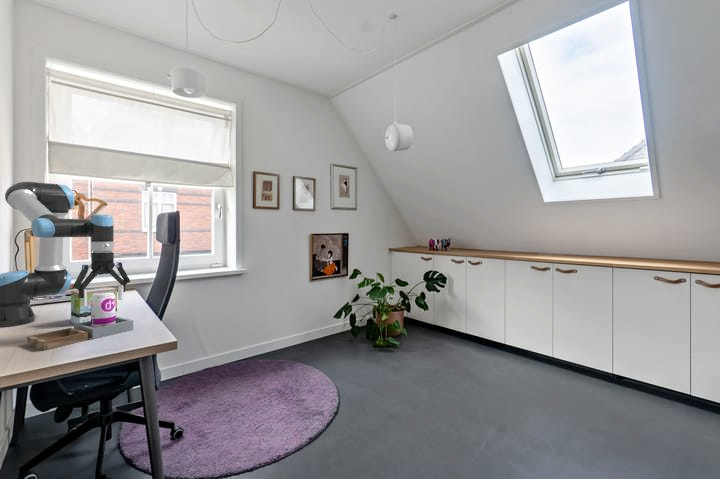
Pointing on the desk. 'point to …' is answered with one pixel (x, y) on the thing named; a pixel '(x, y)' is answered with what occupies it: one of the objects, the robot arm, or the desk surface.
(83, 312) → the tea box
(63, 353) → the desk surface
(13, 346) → the desk surface
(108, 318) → the supplement can
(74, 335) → the tray
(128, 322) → the tray
